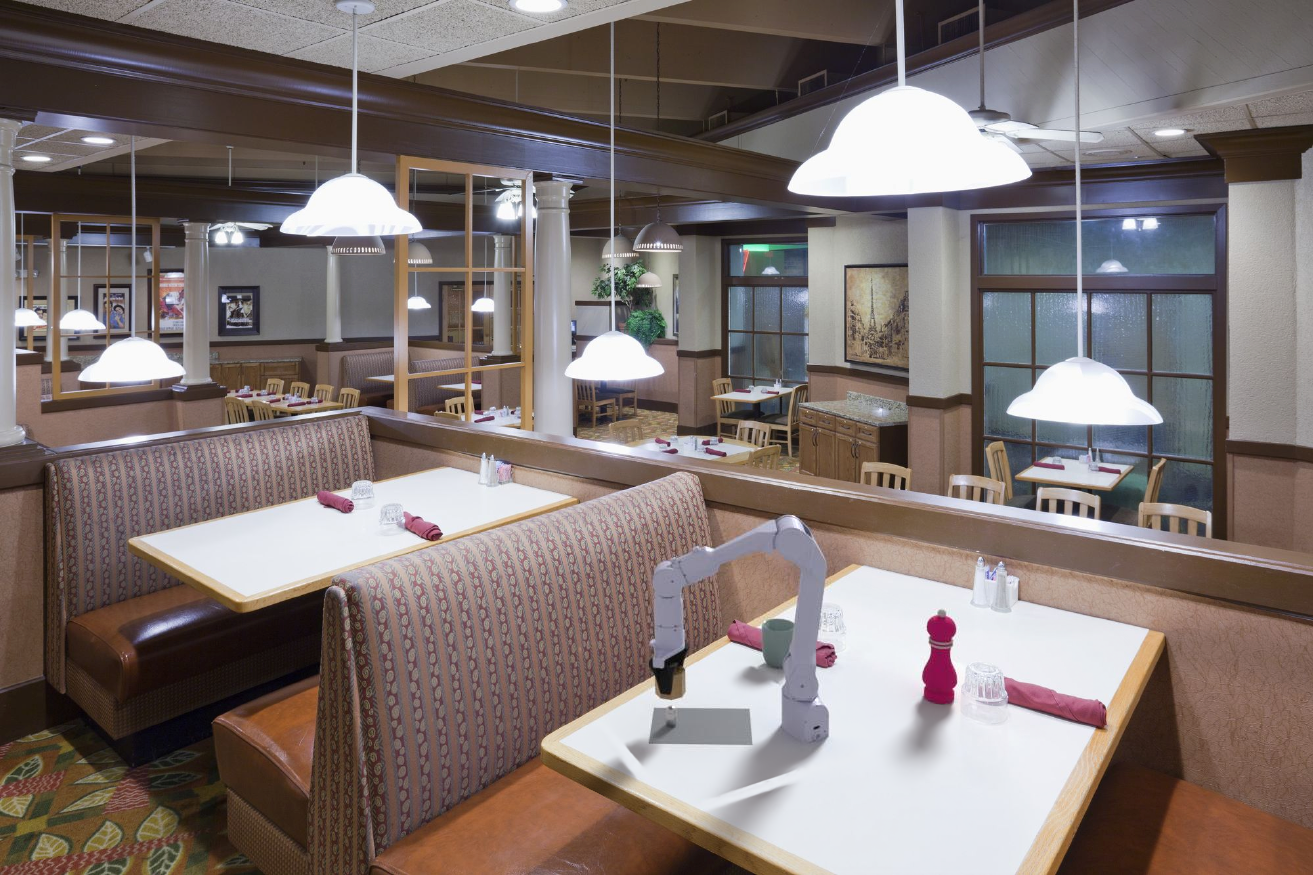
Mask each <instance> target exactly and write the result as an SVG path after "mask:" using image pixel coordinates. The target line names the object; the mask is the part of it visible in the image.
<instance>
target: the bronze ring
mask: <svg viewBox="0 0 1313 875" xmlns="http://www.w3.org/2000/svg"><path fill="white" fill-rule="evenodd" d="M654 687H655V688H654V689H655V695H656V696H658V698H659V699H662V700H668V701H674V700H677V699H680V698H681V699H682V698H683V697H684V695H685V693H686V690H687V689H686V688H687V687H686V668H685V667H684V666H683V667H682V666H681V665H680V664H678V665H677V667H676V670H675V673H674V677H673V686H672V691H671V694H670V695H666V694H660V691H659V688H658V684H657V681H656V678H655V677H654Z"/></svg>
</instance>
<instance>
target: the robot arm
mask: <svg viewBox="0 0 1313 875" xmlns="http://www.w3.org/2000/svg"><path fill="white" fill-rule="evenodd" d="M691 550H692V551H690V552H688V553H685V554H683V555H681V556H679V557H675V556H674V557H672V558H670V561H669V560H663V561H661V562H660V563H658V564H657V566H656V567H655V569H654V573H653V577H652V581H651V582H652V588H653V596H654V599H653V614H654V615H653V616H654V617H653V619H654V638H653V639H651V640H650V641H649V647H653V651H654V654H653V657H651V658H650V659H649V660H648V666H649V669H650V670H651V671H652V673H653V676H654V679H655V678H656V681H657V684H658V688H659V691H660V694H666V695H670V694H671V691H672V686H673V677H674V673H675V670H676V667H677V665H678V664H680V665H681V666H682V667H684V665H685V660H686V656H687V654H688V653H689V650H690V648H691V646H690V644H689V643H687V642H685V639H686V630H685V629H684V600H683V597H682V590H683V588H684V587H687V586H691V585H693V584H695V583H698V582H699V581H701V580H705V579H707V578H708V577H711V576H714V575H715V574H718V571H719V568H720V566H721V565H724V564H726V563H728V562H731V561H734V560H736V559H739V558H741V557H742V558H743V557H744V556H747V555H750V554H752V553H754V552H762V553H765V554H767V555H770V556H771V555H772V556H773V555H774V556H775V553H774V552H775V551H774V550H776V552H777V553H778V555H780V556H781V557H782V558H783V559H785V560H787V561H789V562H792V563H794V564H795V566H797V567H798V569H799V570H800V577H799V584H798V585H799V586H798V593H797V600H796V605H795V606H796V607H795V616H794V621H793V623H794V629H793V637H792V642H791V644H790V647H789V652H788V654H787V656H786V657H785V658H784V660H783V664H782V667H783V668H782V672H783V674H784V680H785V683H784V684H783V685H782V687H781V729H782V731H784V732H785V733H786V734H788V735H791V736H793V737H794V738H795V739H797V740H798V741H800V742H801V743H803V744H804V745H805V744H809V743H810V742H814V741H815V742H817V741H820V740H821V739H823V738H828V737H829V735H830V729H829V728H830V727H829V726H830V725H829V724H830V722H829V721H830V720H829V719H830V713H829V710H828V708H827V706H826V705H825V704H824V703H823V702H822V700H821V698H820V695H819V680H818V678H817V675H816V674H817V673H816V671H817V653H816V652H817V644H818V638H819V637H818V636H819V629H820V623H821V622H820V621H821V614H822V607H823V600H824V592H825V585H826V578H827V570H828V563H827V561H826V558H825V555H824V554H823V551H822V550H821V549H820V546H819V545H818V543H817V541H816V539H815V538H814V535H813V533H812V531H811V529H810V528H809V526H808V525H806V523H804V522H803V521H802V520H801V519H800V518H799V517H797V516H796V515H791V514H785V515H782V516H779V517H778V518H777V519H770V520H768V521H766V522H763V523H762V524H760V525H759V526H756V527H754V528H753V529H751V530H749V531H747V532H745V533H743V534H741V535H739V536H737V537H735V538H733V539H731V540H729V541H727V542H725V543H723V544H720V545H718V546H716V547H714V548H712V547H710V546H707V545H705V546H702V547H699V545H696V546H694V547H692V549H691Z"/></svg>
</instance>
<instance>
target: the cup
mask: <svg viewBox="0 0 1313 875" xmlns="http://www.w3.org/2000/svg"><path fill="white" fill-rule="evenodd" d="M793 629H794V621H791V620H790V619H785V618H770V619H767V620H765V621H763V623H762V624H761V649H762V650H761V651H762V656H763V659H764V662H765V663H766V664H767V665H768V666H769V667H771V668H774V669H783V667H782V664H783V660H784V658H785V657H786V656H787V654H788V652H789V647H790V644H791V642H792V637H793Z"/></svg>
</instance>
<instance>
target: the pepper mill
mask: <svg viewBox="0 0 1313 875" xmlns="http://www.w3.org/2000/svg"><path fill="white" fill-rule="evenodd" d="M926 631H927V633H928V635H929V636H928V644H929V646H930V653H929V658H928V659H927V662H926V663H925V666H924V667H923V670H922V672H921V673H922V674H921V680H922V682H923V684H924V685H925V686H924V687H923V696H924V698H925V699H926V700H927V701H929V702H931V703H934V704H941V705H945V704H946V705H947V704H951V703H952V702H954V701H955V690H954V688H956V686H957V684H958V674H957V672H956V669H955V666H954V664H953V662H952V659H951V650H952V647H953V646H954V639H953V638H954V636H956V634H957V626H956V623H955V620H953V619H952V618H951V617H950V616H947V611H946V610H945V609H943V608H941V609H938V610H937V614H936V615H933V616H931V617H930V618H928V620H927V623H926Z"/></svg>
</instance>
